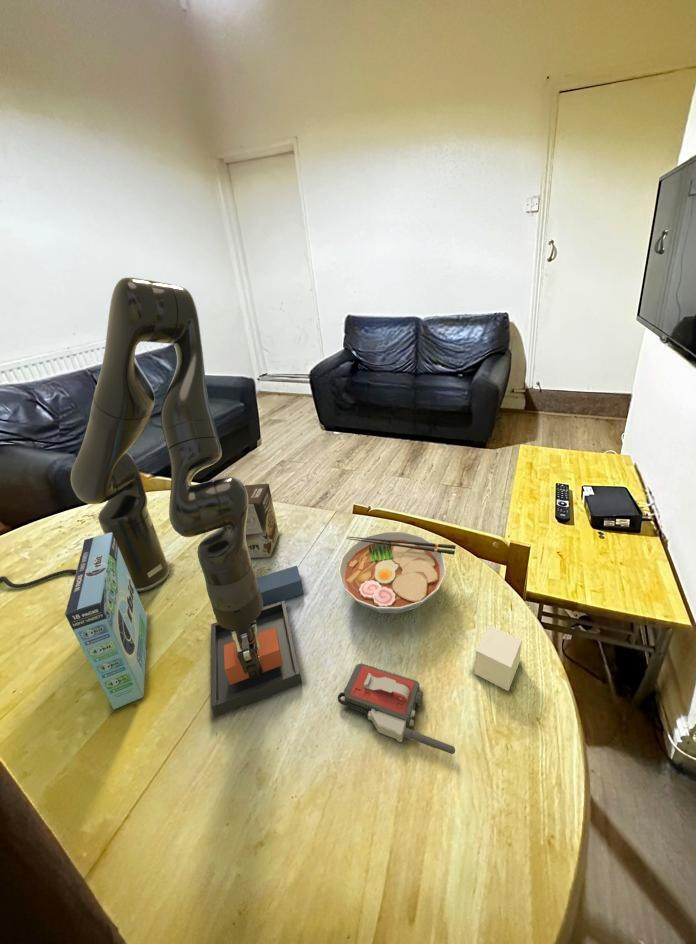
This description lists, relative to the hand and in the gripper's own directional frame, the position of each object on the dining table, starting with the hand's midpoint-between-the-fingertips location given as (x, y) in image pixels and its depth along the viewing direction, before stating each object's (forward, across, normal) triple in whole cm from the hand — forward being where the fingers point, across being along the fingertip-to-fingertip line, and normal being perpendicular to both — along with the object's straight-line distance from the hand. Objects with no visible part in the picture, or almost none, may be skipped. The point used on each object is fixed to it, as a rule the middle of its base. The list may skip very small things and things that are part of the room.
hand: (254, 661), depth 73 cm
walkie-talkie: (+4, +16, +21) cm, 27 cm away
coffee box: (+3, -36, +5) cm, 36 cm away
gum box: (+3, -13, -22) cm, 26 cm away
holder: (+3, -4, 0) cm, 5 cm away
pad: (0, 0, 0) cm, 0 cm away
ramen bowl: (+3, -8, +30) cm, 31 cm away
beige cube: (+4, +16, +40) cm, 43 cm away
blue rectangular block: (+3, -18, +7) cm, 19 cm away
